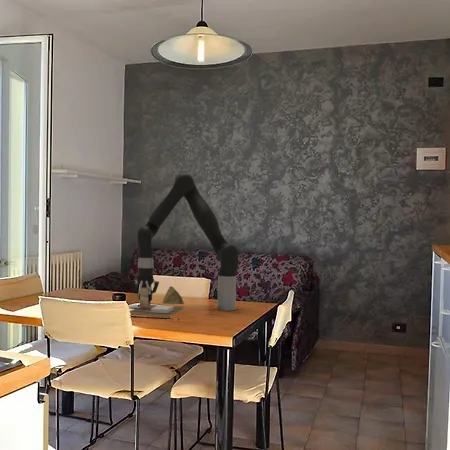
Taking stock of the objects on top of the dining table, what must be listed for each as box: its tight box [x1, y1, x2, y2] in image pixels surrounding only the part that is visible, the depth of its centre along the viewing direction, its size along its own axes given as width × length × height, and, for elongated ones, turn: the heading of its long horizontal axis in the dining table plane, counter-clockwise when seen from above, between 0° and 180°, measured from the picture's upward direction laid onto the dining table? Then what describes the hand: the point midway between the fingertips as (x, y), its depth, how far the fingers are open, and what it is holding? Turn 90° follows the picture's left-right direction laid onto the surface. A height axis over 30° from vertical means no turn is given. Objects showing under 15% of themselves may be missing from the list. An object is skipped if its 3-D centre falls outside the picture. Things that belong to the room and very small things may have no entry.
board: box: [130, 304, 186, 320], centre depth 258 cm, size 28×22×1 cm
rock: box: [161, 286, 185, 305], centre depth 278 cm, size 11×9×10 cm
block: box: [139, 287, 151, 307], centre depth 263 cm, size 4×4×9 cm
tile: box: [151, 304, 175, 314], centre depth 255 cm, size 2×8×10 cm
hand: (145, 301), depth 263 cm, fingers closed on block, 3 cm apart
